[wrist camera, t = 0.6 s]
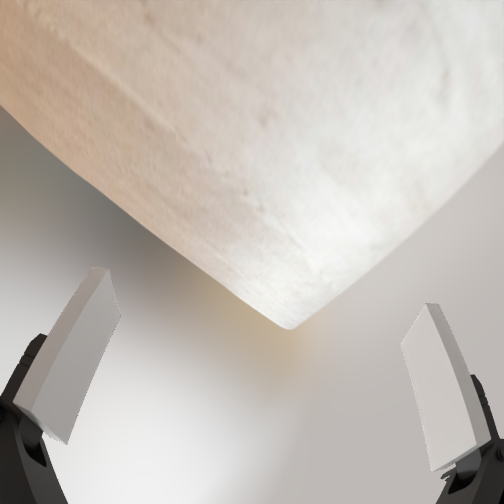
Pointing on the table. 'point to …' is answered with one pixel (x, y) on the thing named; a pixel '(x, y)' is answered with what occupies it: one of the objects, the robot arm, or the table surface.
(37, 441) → the robot arm
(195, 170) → the table surface
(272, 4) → the table surface
